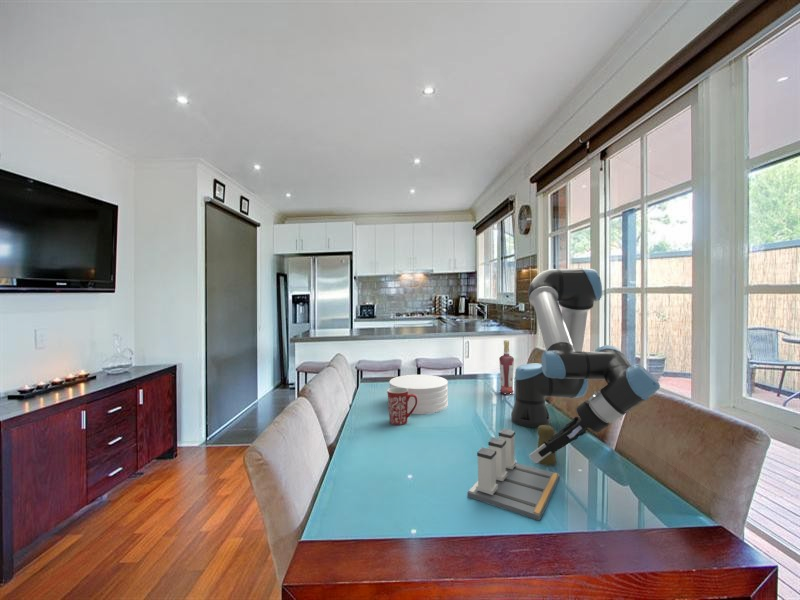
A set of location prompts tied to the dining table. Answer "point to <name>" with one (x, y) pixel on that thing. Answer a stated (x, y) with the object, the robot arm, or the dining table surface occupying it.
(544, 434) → the cork
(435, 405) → the plate stack
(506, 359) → the liquor
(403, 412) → the mug
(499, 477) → the lever mid
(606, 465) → the dining table surface
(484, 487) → the lever far
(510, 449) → the lever
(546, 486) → the panel
